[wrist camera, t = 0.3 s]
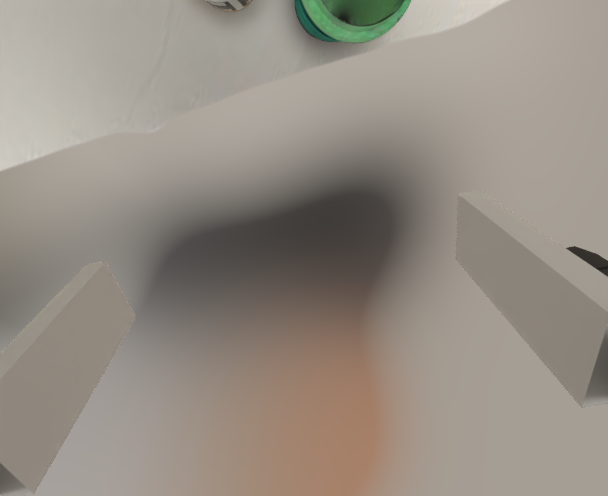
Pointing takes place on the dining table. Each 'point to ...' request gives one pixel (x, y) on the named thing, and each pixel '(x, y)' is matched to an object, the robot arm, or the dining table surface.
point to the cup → (349, 18)
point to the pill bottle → (229, 4)
